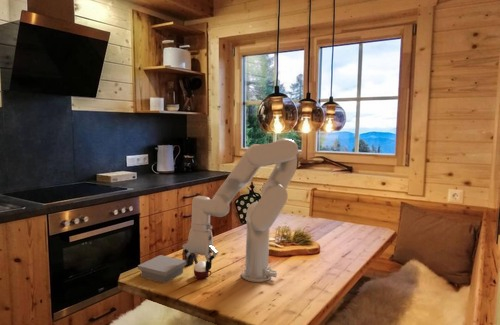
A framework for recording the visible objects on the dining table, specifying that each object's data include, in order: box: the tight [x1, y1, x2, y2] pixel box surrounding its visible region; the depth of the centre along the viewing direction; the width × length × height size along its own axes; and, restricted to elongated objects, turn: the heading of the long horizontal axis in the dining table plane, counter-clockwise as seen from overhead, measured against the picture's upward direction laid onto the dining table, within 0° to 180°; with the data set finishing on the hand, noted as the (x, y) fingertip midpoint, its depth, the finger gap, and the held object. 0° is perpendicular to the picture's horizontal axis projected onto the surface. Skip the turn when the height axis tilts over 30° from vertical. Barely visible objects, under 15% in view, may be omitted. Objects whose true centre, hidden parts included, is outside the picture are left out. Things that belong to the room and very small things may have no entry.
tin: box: [181, 246, 199, 266], centre depth 167 cm, size 15×3×8 cm, turn 168°
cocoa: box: [192, 253, 212, 280], centre depth 150 cm, size 10×6×12 cm, turn 46°
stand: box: [137, 254, 187, 284], centre depth 151 cm, size 14×14×5 cm
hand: (199, 267), depth 150 cm, fingers closed on cocoa, 8 cm apart
